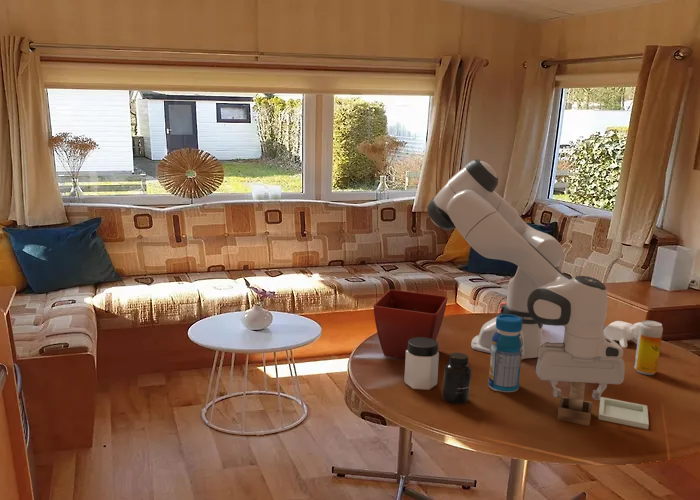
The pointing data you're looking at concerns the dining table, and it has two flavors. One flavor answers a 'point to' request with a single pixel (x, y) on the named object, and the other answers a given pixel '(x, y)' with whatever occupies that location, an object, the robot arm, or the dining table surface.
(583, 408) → the open square box
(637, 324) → the white low-poly figurine
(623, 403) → the tray
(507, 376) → the beverage bottle
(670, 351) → the dining table surface
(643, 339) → the beer can
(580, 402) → the dowel
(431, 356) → the jar
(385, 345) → the plant pot
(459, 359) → the supplement bottle
